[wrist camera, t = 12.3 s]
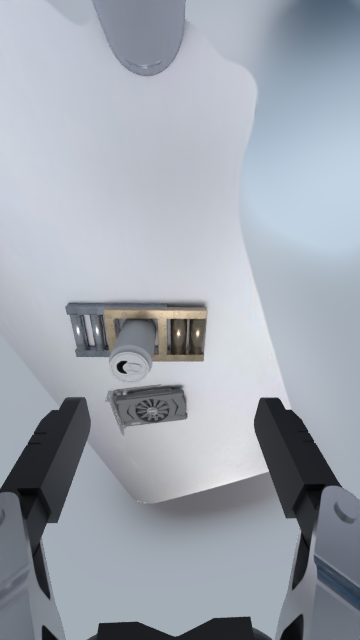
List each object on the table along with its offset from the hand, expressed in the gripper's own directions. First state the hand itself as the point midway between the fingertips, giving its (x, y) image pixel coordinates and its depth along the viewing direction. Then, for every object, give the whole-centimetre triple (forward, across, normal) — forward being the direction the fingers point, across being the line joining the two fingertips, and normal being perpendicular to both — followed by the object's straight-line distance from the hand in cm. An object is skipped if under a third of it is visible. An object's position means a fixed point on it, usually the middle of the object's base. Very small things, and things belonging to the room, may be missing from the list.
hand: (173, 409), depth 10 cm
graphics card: (+30, +4, +34) cm, 46 cm away
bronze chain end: (+30, +2, +13) cm, 33 cm away
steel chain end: (+30, +10, +13) cm, 35 cm away
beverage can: (+30, +6, +13) cm, 34 cm away
